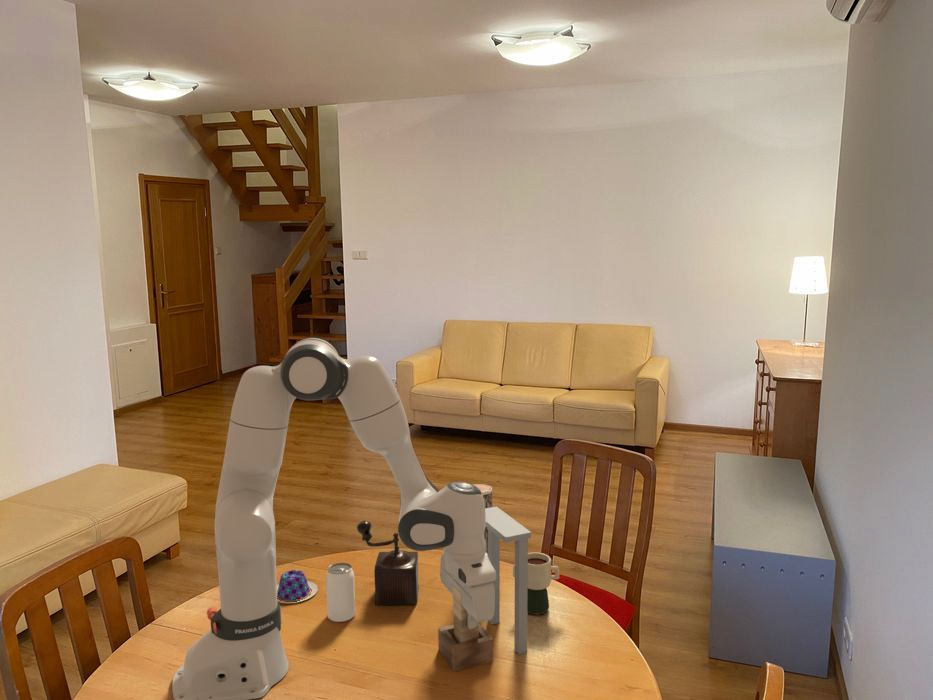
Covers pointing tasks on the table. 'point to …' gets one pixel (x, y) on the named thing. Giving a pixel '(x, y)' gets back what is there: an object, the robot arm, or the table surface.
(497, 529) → the u-shaped bar frame
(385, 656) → the table surface
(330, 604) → the can
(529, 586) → the character mug
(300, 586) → the pudding
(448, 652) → the socket
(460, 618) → the peg
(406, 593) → the manual coffee grinder
